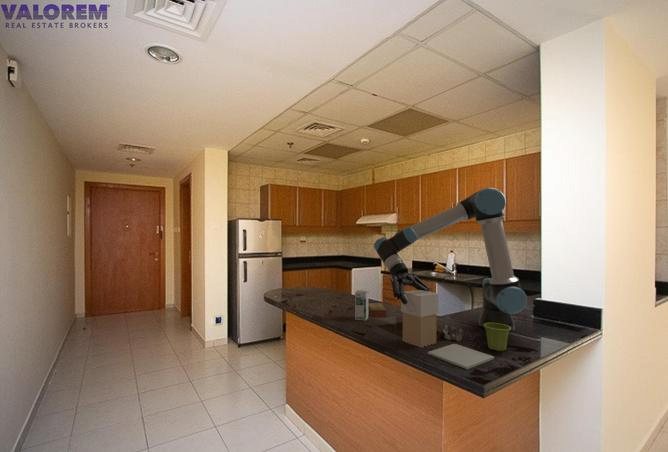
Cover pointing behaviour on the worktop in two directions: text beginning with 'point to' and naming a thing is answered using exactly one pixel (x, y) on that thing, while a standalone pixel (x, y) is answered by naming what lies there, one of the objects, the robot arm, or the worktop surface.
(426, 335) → the brown open box
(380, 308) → the carton
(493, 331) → the plant pot
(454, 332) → the egg carton
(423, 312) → the off-white cube block
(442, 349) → the board
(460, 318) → the worktop surface
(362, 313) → the syrup box
